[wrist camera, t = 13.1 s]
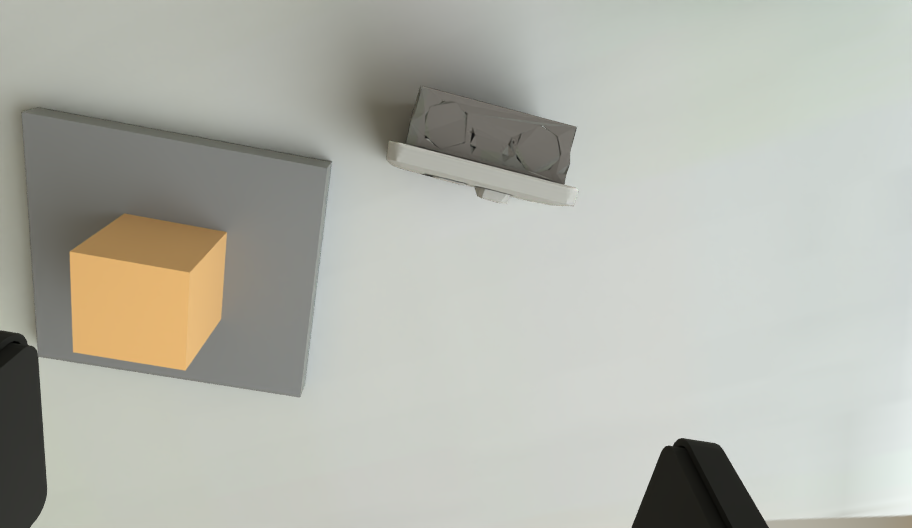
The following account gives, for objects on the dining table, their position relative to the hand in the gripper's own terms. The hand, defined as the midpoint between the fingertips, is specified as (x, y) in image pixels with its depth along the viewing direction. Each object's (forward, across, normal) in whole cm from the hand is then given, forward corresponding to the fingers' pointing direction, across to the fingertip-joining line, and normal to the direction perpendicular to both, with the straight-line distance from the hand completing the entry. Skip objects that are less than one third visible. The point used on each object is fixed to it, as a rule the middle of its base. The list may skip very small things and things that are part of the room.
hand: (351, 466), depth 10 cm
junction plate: (+30, +14, +12) cm, 35 cm away
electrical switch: (+31, -3, +1) cm, 31 cm away
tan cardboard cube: (+29, +14, +12) cm, 34 cm away
